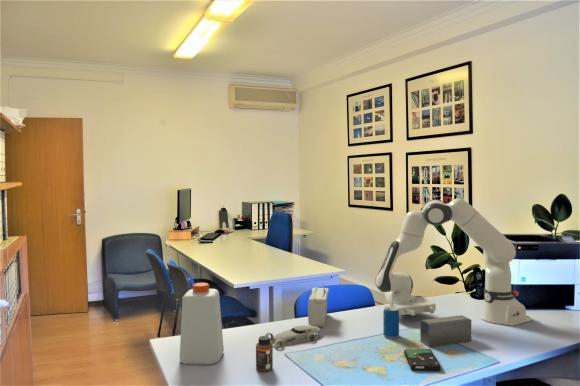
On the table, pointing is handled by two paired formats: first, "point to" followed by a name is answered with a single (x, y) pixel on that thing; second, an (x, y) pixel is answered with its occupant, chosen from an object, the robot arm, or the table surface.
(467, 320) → the box
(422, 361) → the disk drive
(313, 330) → the car model
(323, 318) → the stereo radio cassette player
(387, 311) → the beverage can
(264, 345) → the supplement bottle
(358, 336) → the table surface
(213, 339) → the plastic bottle
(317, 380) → the table surface
